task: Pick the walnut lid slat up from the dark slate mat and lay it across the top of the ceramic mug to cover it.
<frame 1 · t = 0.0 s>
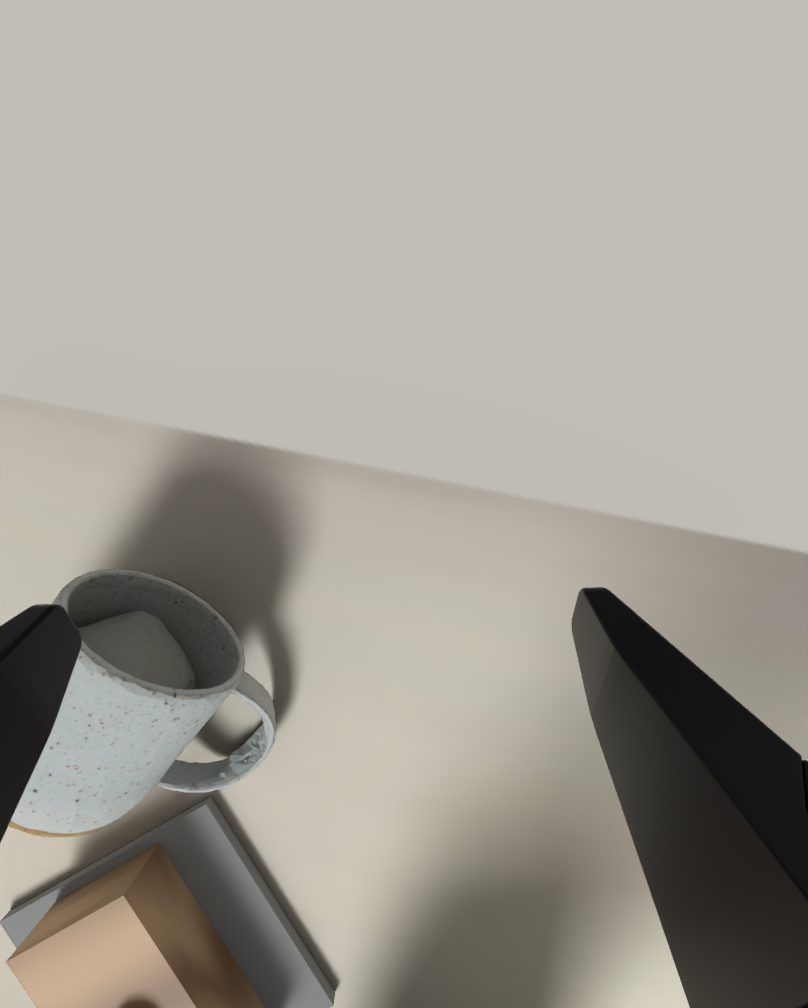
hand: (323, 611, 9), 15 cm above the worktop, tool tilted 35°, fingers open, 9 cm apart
ceramic mug: (185, 672, 24), on the worktop
mat: (172, 952, 25), on the worktop
lid: (166, 963, 24), point 1 cm above the worktop, touching mat
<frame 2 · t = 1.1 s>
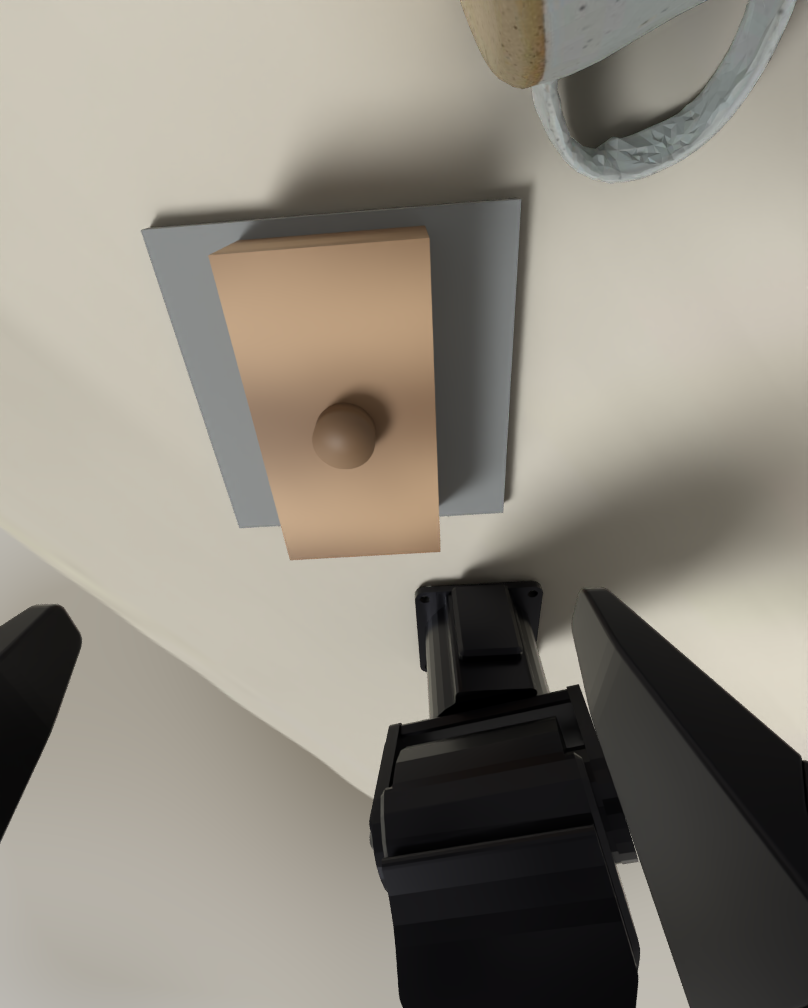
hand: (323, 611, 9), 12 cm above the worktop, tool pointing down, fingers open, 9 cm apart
mat: (354, 389, 19), on the worktop
lid: (353, 395, 19), point 1 cm above the worktop, touching mat
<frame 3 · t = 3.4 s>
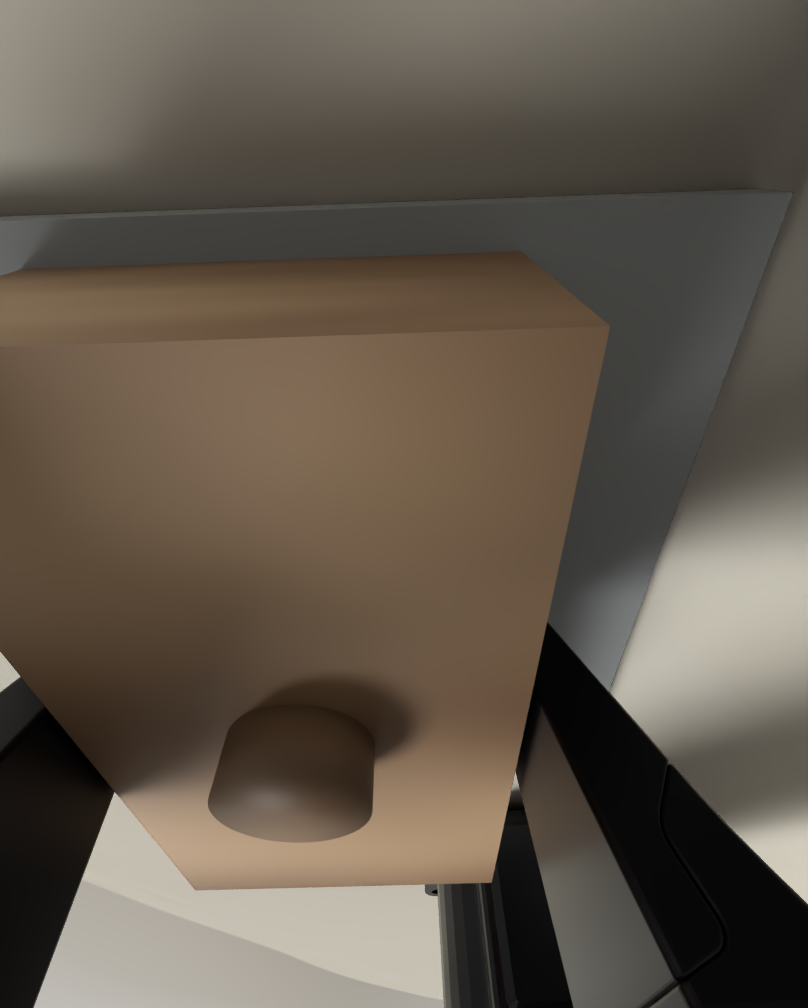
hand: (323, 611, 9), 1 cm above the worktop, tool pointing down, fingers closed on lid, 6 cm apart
mat: (330, 564, 10), on the worktop
lid: (326, 586, 9), point 1 cm above the worktop, touching gripper, mat
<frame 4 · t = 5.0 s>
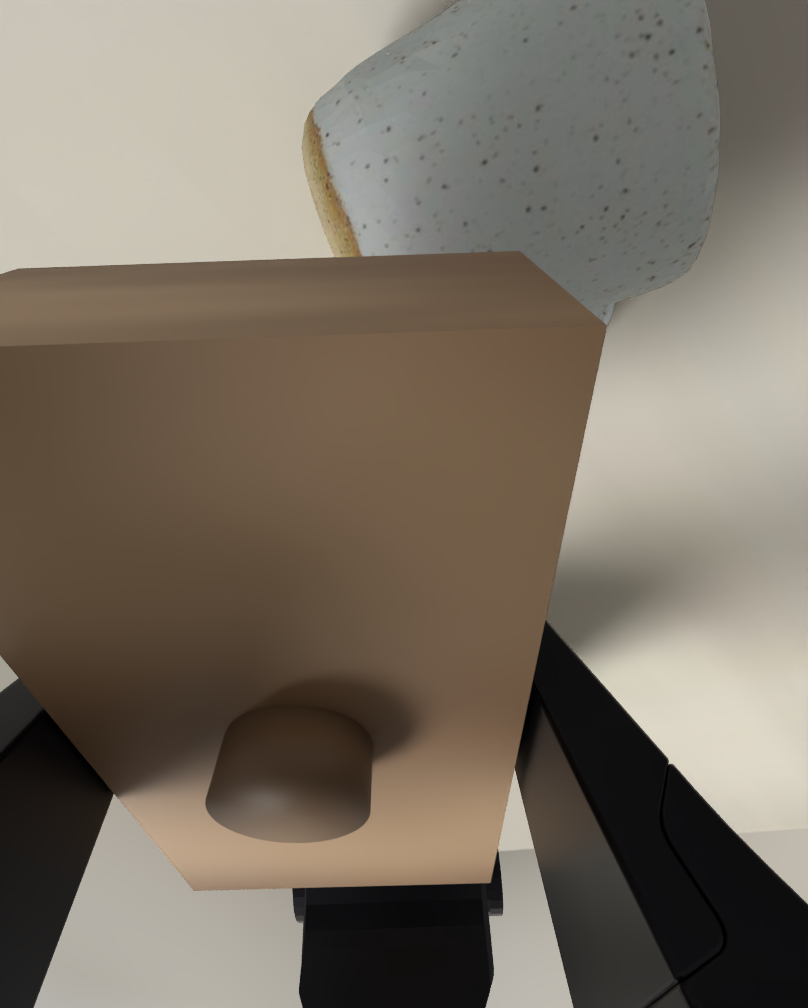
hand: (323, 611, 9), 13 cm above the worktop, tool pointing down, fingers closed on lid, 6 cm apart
ceramic mug: (495, 225, 17), on the worktop
lid: (325, 586, 9), point 12 cm above the worktop, touching gripper
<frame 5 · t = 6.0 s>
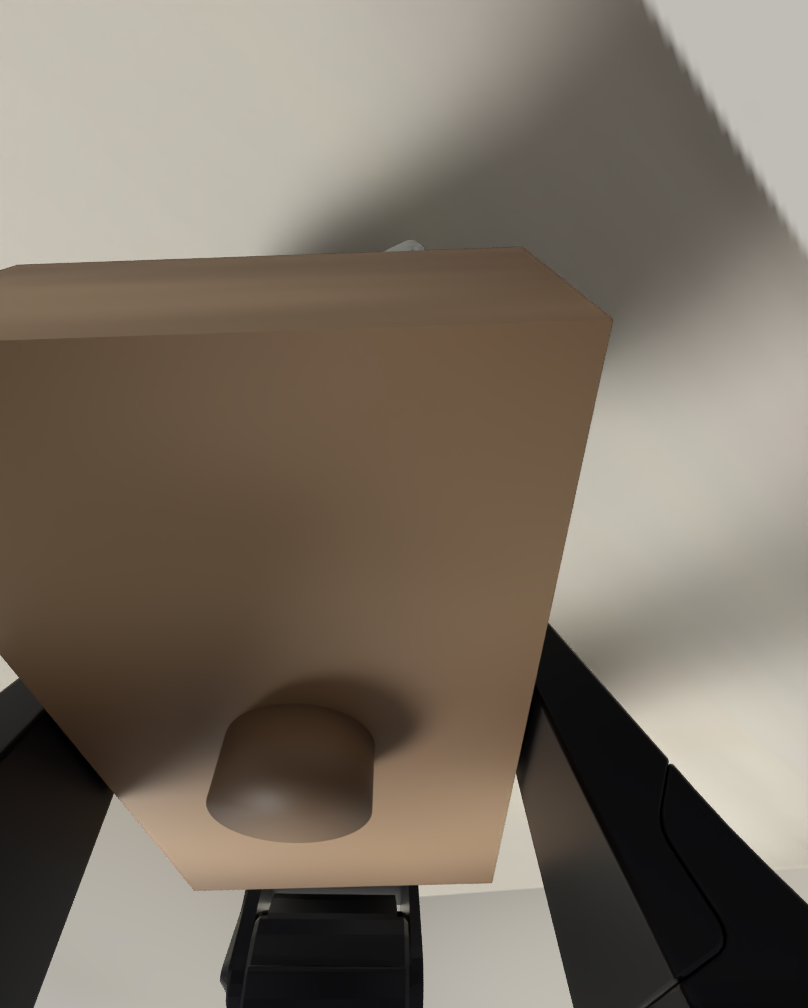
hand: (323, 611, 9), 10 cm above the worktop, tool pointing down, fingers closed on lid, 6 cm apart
lid: (326, 585, 9), point 10 cm above the worktop, touching gripper
when the fingers open (10 cm above the worktop, at t = 6.7 s): lid drops 2 cm, resting on ceramic mug.
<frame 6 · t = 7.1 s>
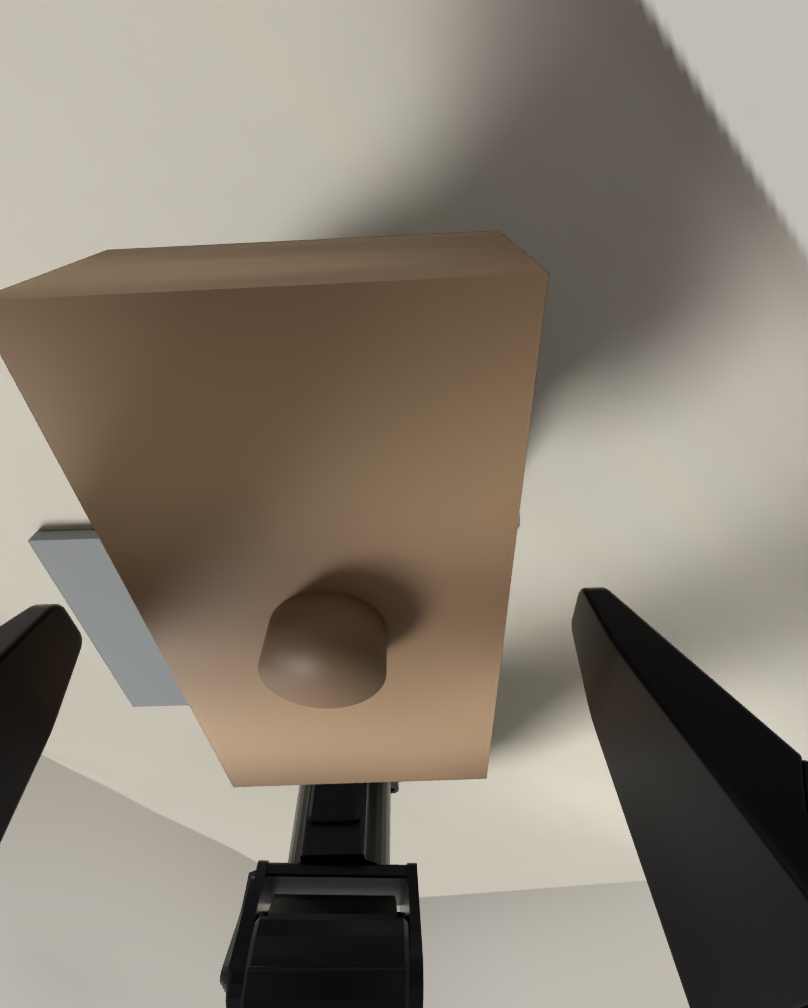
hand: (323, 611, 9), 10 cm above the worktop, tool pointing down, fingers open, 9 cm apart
mat: (216, 622, 24), on the worktop
lid: (343, 522, 11), point 8 cm above the worktop, touching ceramic mug
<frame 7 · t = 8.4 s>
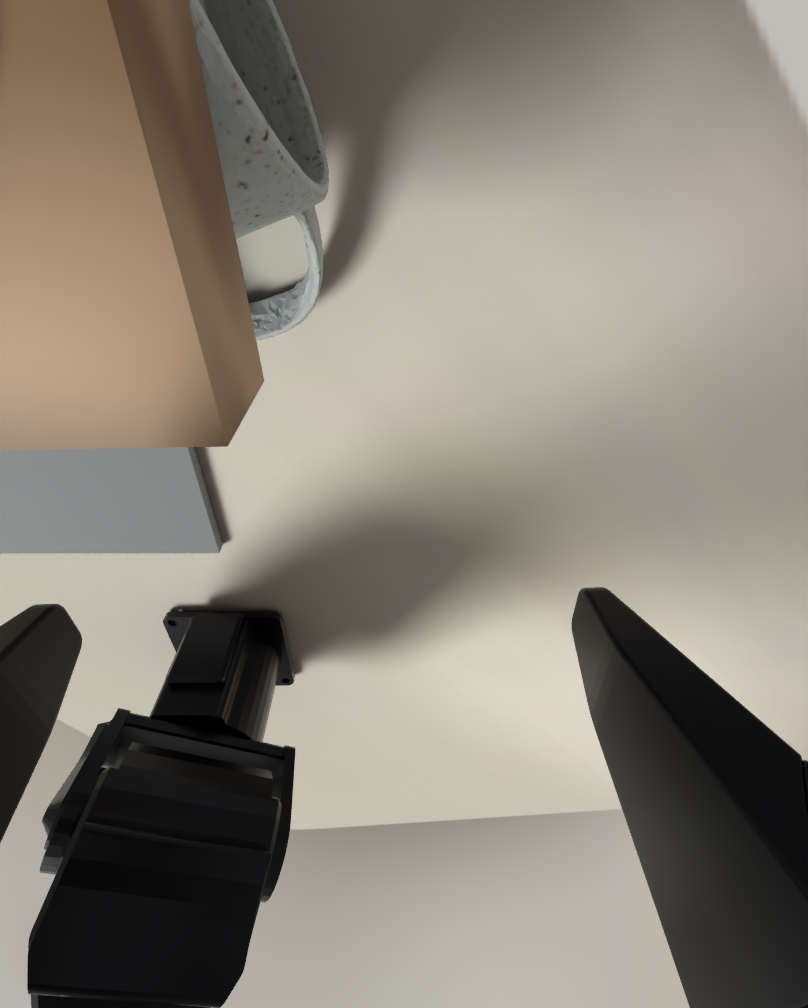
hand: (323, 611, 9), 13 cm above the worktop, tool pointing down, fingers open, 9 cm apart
ceramic mug: (204, 147, 15), on the worktop, touching lid
mat: (50, 439, 21), on the worktop
lid: (20, 69, 8), point 8 cm above the worktop, touching ceramic mug
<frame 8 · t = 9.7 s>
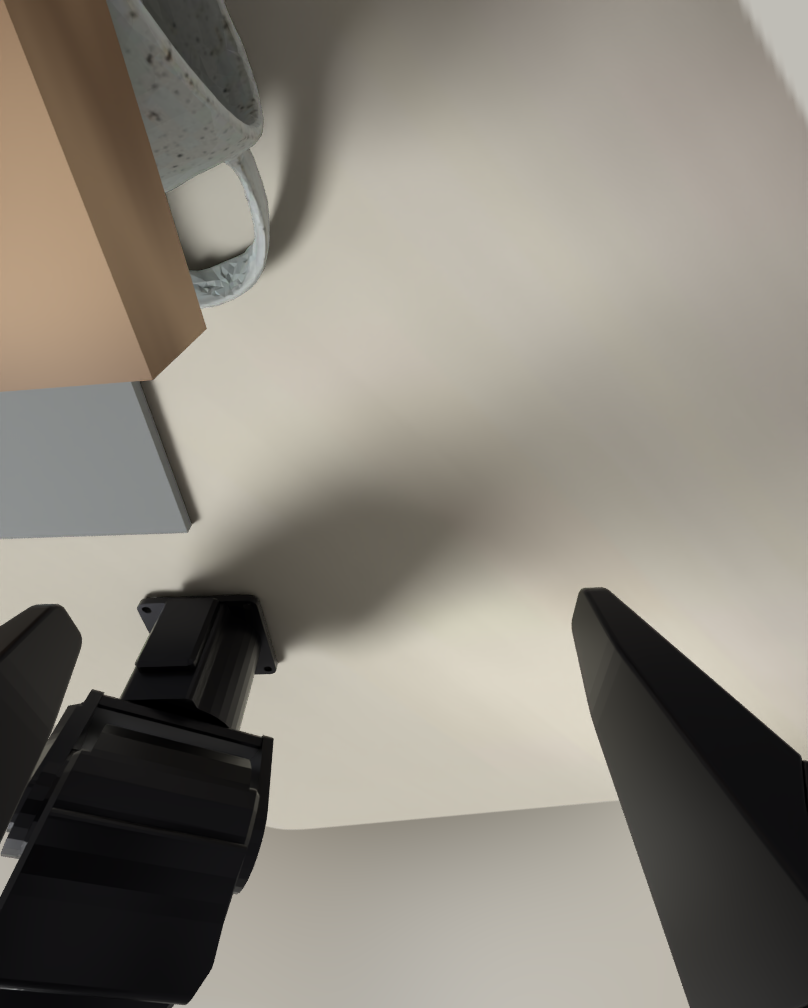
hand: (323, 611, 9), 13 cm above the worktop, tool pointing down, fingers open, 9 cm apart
ceramic mug: (143, 108, 15), on the worktop, touching lid
mat: (7, 416, 20), on the worktop
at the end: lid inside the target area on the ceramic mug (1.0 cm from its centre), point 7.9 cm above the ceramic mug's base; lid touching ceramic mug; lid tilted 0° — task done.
